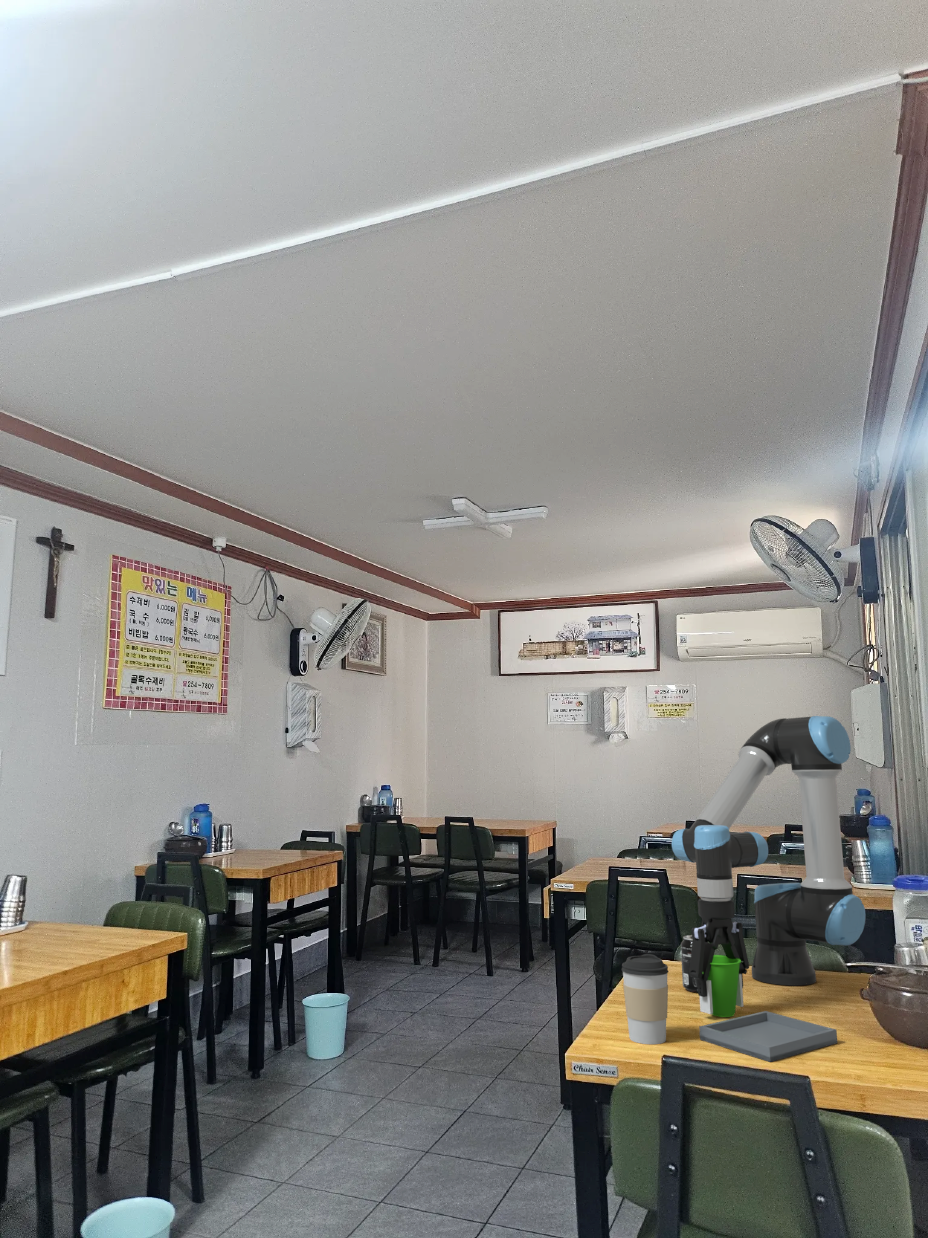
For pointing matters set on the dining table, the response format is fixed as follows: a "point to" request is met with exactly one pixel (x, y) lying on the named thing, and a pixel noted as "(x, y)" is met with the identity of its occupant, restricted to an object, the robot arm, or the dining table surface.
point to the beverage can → (687, 965)
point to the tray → (768, 1035)
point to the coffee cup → (646, 998)
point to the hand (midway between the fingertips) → (722, 1009)
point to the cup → (724, 985)
